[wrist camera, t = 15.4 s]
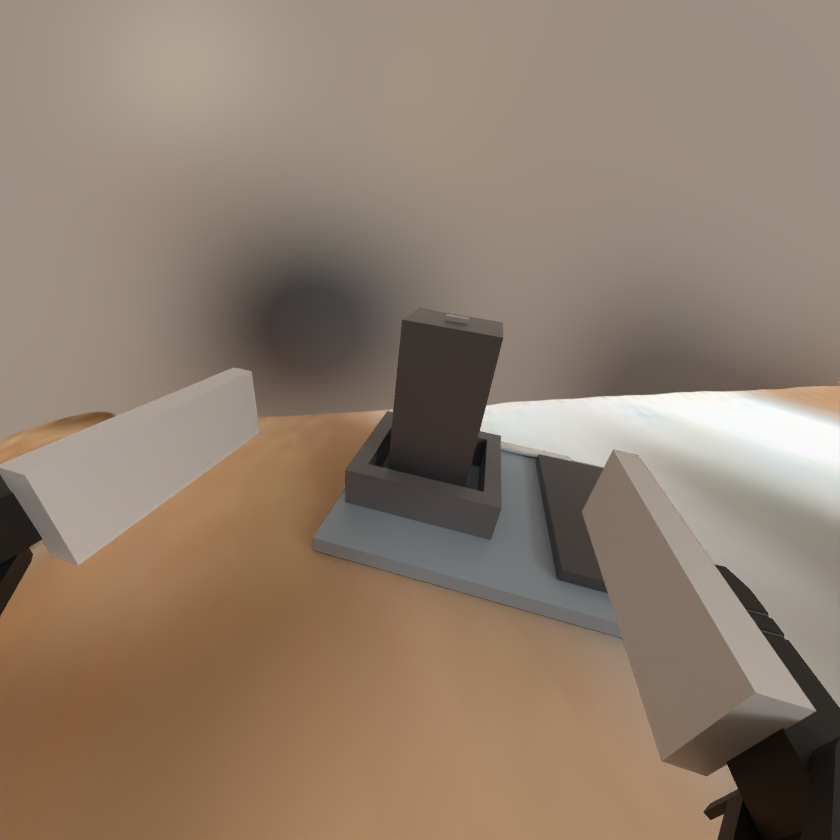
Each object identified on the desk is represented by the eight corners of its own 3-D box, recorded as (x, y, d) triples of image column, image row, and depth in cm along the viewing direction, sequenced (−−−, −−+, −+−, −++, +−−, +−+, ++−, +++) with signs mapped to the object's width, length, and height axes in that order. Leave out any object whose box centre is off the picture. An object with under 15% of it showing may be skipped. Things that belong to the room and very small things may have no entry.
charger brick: (465, 471, 24) (503, 318, 18) (460, 507, 20) (504, 332, 15) (401, 456, 24) (420, 303, 19) (385, 488, 21) (402, 314, 16)
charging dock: (625, 482, 27) (645, 448, 25) (731, 669, 15) (781, 627, 13) (389, 429, 30) (392, 395, 28) (313, 550, 17) (311, 502, 16)
